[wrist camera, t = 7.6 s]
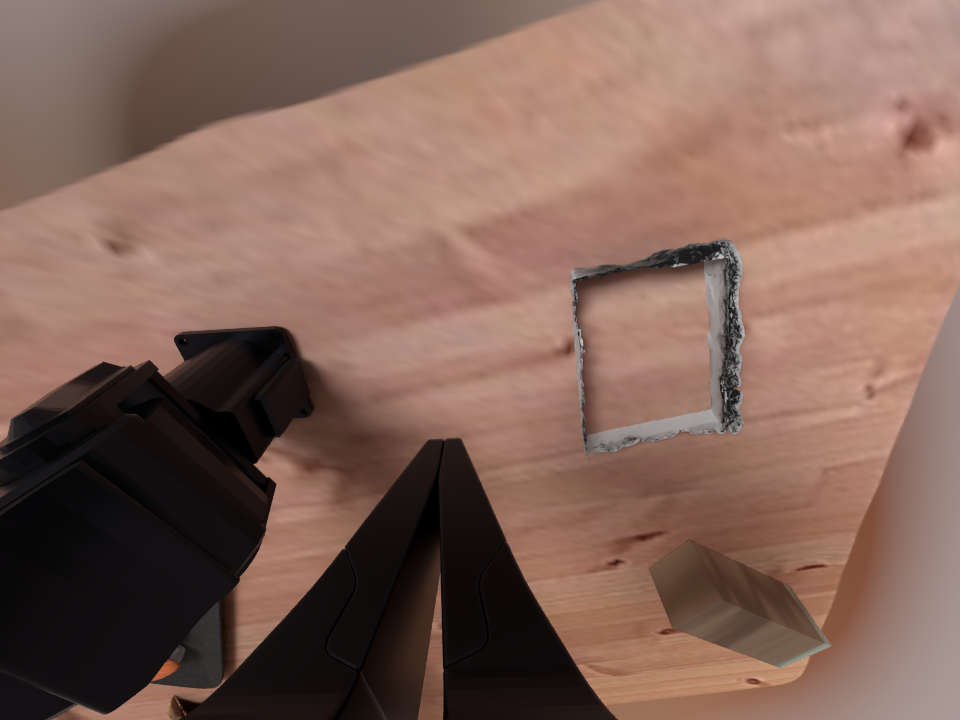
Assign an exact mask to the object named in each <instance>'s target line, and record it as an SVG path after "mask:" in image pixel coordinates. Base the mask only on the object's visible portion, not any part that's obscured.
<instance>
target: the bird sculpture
mask: <svg viewBox="0 0 960 720" xmlns="http://www.w3.org/2000/svg"><path fill="white" fill-rule="evenodd" d="M167 710H168V711H167V714H168V716H169V717H170V718H171V720H179V719H181V718H182V717H184V716H185V714H184V712H183V709H182V708H181V706H180V707H179V705H178V703H177V701H176V700H175V697H174V696H173V697H172V699H171V701H170V703H169V704H168V709H167Z"/></svg>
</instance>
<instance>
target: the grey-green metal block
mask: <svg viewBox="0 0 960 720" xmlns="http://www.w3.org/2000/svg"><path fill="white" fill-rule="evenodd" d="M649 570H650V573H651V575H652V578H653V580H654V583H655V585H656V588H657V590H658V593H659V595H660V598H661V601H662V603H663V606H664V608H665V611H666V613H667V616H668V618H669V621H670V623H671V626H672V628H673V629H676V630H679V631H681V632H684V633H687V634H690V635H692V636H695V637H698V638H701V639H703V640H706V641H709V642H711V643H714V644H717V645H720V646H722V647H725V648H728V649H730V650H733V651H736V652H739V653H741V654H744V655H747V656H749V657H752V658H755V659H758V660H760V661H763V662H766V663H768V664H771V665H774V666H777V667H779V668H782V667H785V666H787V665H789V664H792V663H794V662H796V661H798V660H801V659H803V658H805V657H808V656H810V655H812V654H815V653H817V652H819V651H822V650H824V649H826V648H829V647H831V644H830V643H829V641H828V640H827V639H826V637H825V636H824V634H823V633H822V631H821V630H820V629H819V627H818V626H817V624H816V623H815V621H814V620H813V619H812V617H811V616H810V614H809V613H808V612H807V610H806V609H805V607H804V606H803V604H802V603H801V602H800V600H799V599H798V597H797V596H796V594H795V593H794V592H793V590H792V589H791V587H790V586H788V585H786V584H784V583H782V582H780V581H777V580H775V579H773V578H771V577H769V576H767V575H765V574H762V573H760V572H758V571H756V570H754V569H752V568H750V567H747V566H745V565H743V564H741V563H739V562H737V561H734V560H732V559H730V558H728V557H726V556H724V555H722V554H719V553H717V552H715V551H713V550H711V549H709V548H707V547H704V546H702V545H700V544H698V543H696V542H694V541H692V540H689V541H687V542H686V543H684V544H683V545H681V546H680V547H678V548H677V549H675V550H674V551H672V552H671V553H670V554H668V555H667V556H665V557H664V558H662V559H661V560H659V561H658V562H656V563H655V564H653V565H652V566H651V567H649Z"/></svg>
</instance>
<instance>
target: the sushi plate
mask: <svg viewBox="0 0 960 720" xmlns="http://www.w3.org/2000/svg"><path fill="white" fill-rule="evenodd" d="M223 676H224V653H223V629H222V605H221V599H220V600H219V601H218V602H217V603H216V604H215V605H214V606H213V607H212V608H211V609H210V610H209V611H208V612H207V613H206V614H205V615H204V616H203V617H202V618H201V619H200V621H199V622H198V623H197V624H196V625H195V626H194V627H193V628H192V629H191V631H190V632H189V633H188V634H187V636H186V637H185V638H184V639H183V641H182V642H181V643H180V644H179V646H178V647H177V648H176V650H175V651H174V652H173V653H172V655H171V656H170V657H169V659H168V660H167V661H166V663H165V664H164V665H163V667H162V668H161V669H160V671H159V672H158V673H157V675H156V676H155V677H154V678H153V680H152V681H151V682H150V683H153V684H161V685H170V686H179V687H189V688H203V689H207V688H215V687H217V686H219V685H220V684H221V682H222V680H223Z"/></svg>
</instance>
